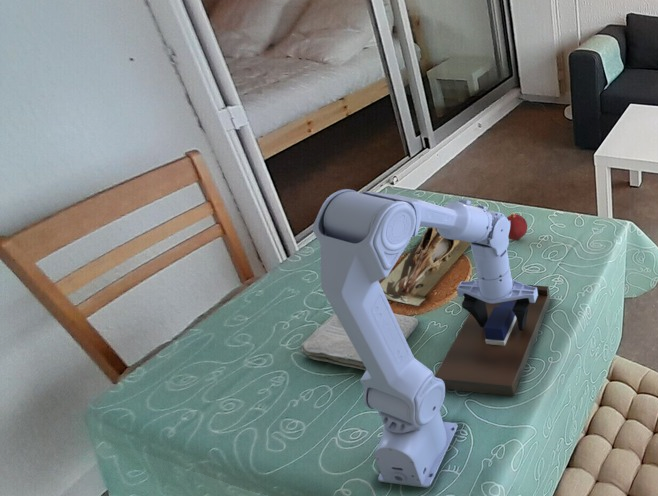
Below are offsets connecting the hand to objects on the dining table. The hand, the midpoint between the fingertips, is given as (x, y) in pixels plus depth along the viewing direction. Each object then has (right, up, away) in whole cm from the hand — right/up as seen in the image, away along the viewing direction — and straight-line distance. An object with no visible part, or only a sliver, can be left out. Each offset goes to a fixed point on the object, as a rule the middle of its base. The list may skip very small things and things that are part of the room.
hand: (503, 324), depth 95 cm
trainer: (0, -1, 0) cm, 1 cm away
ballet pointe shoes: (-22, +7, +22) cm, 32 cm away
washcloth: (-27, -4, +1) cm, 27 cm away
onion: (-4, +10, +28) cm, 30 cm away
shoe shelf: (-1, -3, +1) cm, 3 cm away
